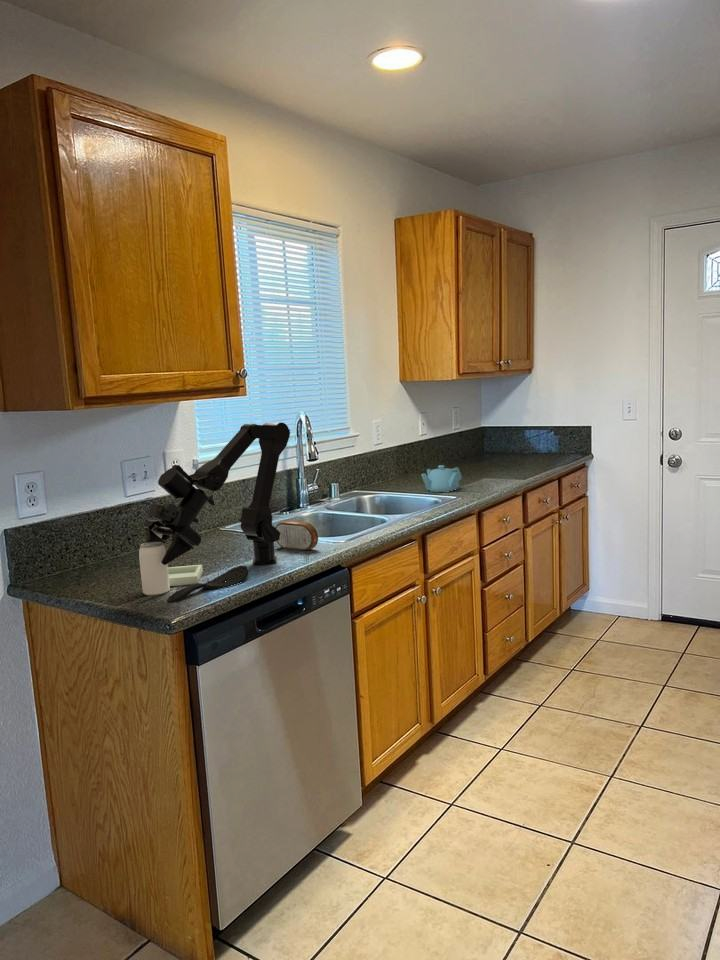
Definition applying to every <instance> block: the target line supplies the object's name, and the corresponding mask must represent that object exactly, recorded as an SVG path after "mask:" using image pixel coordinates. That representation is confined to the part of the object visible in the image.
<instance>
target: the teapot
mask: <svg viewBox="0 0 720 960" xmlns="http://www.w3.org/2000/svg"><path fill="white" fill-rule="evenodd" d="M462 477H463V476H462V473H461V471H460V469H459V467H454V468H447V467H446V468H445V465H443V464H442V465H438V466H437V468H434V469H431V468H428V469H426V473H421V478H422V480H423V483H424V485H425V488H426V490H427V491H428V490H430V491H450V490H455V489H457V490H458V489H459V487H460V483H459V482H460V481H461V480H462Z"/></svg>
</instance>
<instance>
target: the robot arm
mask: <svg viewBox="0 0 720 960" xmlns="http://www.w3.org/2000/svg"><path fill="white" fill-rule="evenodd" d="M290 436H291V429H290V428H289V426H288V425H287V423H284V422H265V423H263V424H256V423H244V424H243V425H241V427H240V428H239V430H238V432H236V434H234V436H233V437H232V438H231V439H230V441H229V442H228V443H227V444H226V445H225V446H224V447H223V448H222V450H220V452H219V453H218V454H217V456H215V457H214V458H213V459H211V460H209V461H208V462H205V463H203V465H201V466H200V467H199V468H197V469H196V470H195V472H194V473H192V474H188V473H187V472H186V471H185V470H184V468H183V467H181V466H180V464H173V466H172V467H171V468H169V469H167V470H166V471H164V473H161V474H160V476H159V478H158V480H157V483H158V484H157V485H159V486H160V487H161V488H162V489H163V490H164V491H165V492H166V493H167V494H169V495H170V496H171V497H172V498H174V499H176V500H178V499H180V501H179V502H178V503H177V505H176V504H173V503H169V502H166V503H165V504H164V505H161V504H156V503H150V505H149V509H148V512H147V517H149V518H152V517H153V518H156V519H159V520H156V519H148V520H146V521H145V523H144V524H143V525H142V527H143V529H144V532H145V534H146V541H145V543H150V542H163V543H164V544H163V545H164V546H165V544H166V541H167V540H169V538H170V537H171V542H170V545H169V547H168V549H166V554H165V556H164V558H163V560H162V562H161V563H162V564H163V565H166V564H168V565H169V563H171V562H173V561H174V560H176V559H177V558H179V557H180V556H182V555H184V554H186V553H187V552H189V551H191V550H194V549H195V548H197V549H198V548H199V547H200V545H201V544H202V541H203V539H202V535H200V534H199V533H198V532H197V531H196V530H195V529H193V527H192V525H193V524H198V522H199V519H198V518H197V517H199V514H201V512H202V510H203V509H204V506H212V507H214V506H215V501H214V498H213V497H214V496H213V494H207V493H206V492H205V491H209V492H217V491H220V490H221V489H222V487H223V486H224V485H225V483H226V481H227V480H228V477H229V473H230V471H231V468H232V467H233V465H235V464H236V462H237V461H238V460H239V458H240V457H242V455H243V454H244V453H245V452H246V451H247V449H248V448H250V446H251V445H252V443H253V442H255V440H256V439H258V443H259V447H260V448H259V449H260V451H261V453H260V459H259V463H258V468H257V474H256V480H255V484H254V488H253V489H254V490H253V494H252V495H253V496H252V499H251V502H250V505H248V507H243V508H242V509H241V517H240V519H239V523H240V529H241V531H242V532H243V534H244V536H245V537H246V540H247V541H252V546H253V549H252V550H253V557H254V558H253V559H252V565H253V566H257V565H269V564H270V565H272V564H276V563H277V559H278V558H277V556H276V554H275V543H276V541H277V540H279V538H280V532H279V531H278V530H277V529H276V528H275V527H276V526H274V524H273V513H272V510H271V505H270V504H271V499H272V495H273V491H274V490H273V489H274V484H275V480H276V474H277V469H278V465H279V461H280V460H279V459H280V455H281V454H282V453H283V452H284V450H285V449H286V447H287V446H288V442H289V439H290Z"/></svg>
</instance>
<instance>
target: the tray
mask: <svg viewBox="0 0 720 960" xmlns="http://www.w3.org/2000/svg"><path fill="white" fill-rule="evenodd" d="M203 569H204V568H203V564H195V565H183V566H181V565H180V566H171V567H169V566H168V574H169V585H170V587H176V586H191V585H194V584H197V583H200V580H201V577H202V575H203V571H204V570H203Z"/></svg>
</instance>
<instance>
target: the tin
mask: <svg viewBox="0 0 720 960" xmlns="http://www.w3.org/2000/svg"><path fill="white" fill-rule="evenodd" d="M274 527H275V528H276V529H277V530H278V531H279V532H280V538H279V540H277V541H275V543H277V544H278V545H279V547H281V548H282V549H286V550H294V551H295V550H296V551H302V550H307V551H310V550H312V549H314V548H316V547H317V545H318V542H319V535H318V531H317V529H316V528H315V526H314V525H313V524H312V523H310V522H308V521H302V520H301V521H299V520H298V521H297V520H288V519H285V520H282V521H281V522H279V523H277V524H276V526H274Z"/></svg>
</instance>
